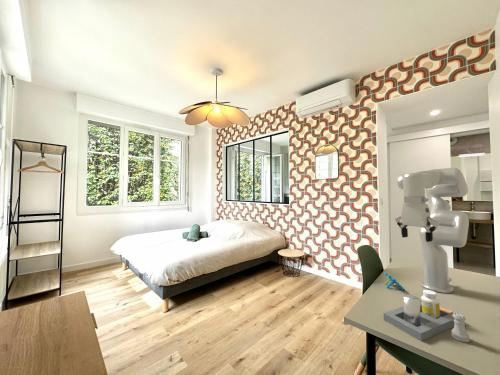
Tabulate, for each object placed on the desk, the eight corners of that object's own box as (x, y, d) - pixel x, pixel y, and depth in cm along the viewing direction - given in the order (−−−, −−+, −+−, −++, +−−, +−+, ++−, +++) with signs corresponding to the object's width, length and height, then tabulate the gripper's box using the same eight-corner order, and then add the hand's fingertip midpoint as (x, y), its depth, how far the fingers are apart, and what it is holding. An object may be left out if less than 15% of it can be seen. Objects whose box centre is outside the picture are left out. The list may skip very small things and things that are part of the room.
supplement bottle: (435, 314, 84) (434, 289, 84) (443, 322, 79) (441, 296, 79) (419, 312, 86) (418, 288, 86) (426, 320, 81) (424, 294, 81)
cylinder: (409, 319, 81) (408, 293, 82) (424, 327, 77) (422, 299, 77) (401, 322, 80) (399, 296, 80) (415, 330, 75) (414, 302, 75)
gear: (408, 290, 101) (390, 274, 104) (399, 298, 102) (381, 282, 105) (399, 284, 112) (383, 269, 115) (391, 291, 112) (375, 276, 115)
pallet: (422, 305, 91) (422, 299, 91) (461, 322, 79) (461, 315, 79) (383, 319, 82) (383, 312, 82) (421, 341, 70) (420, 332, 70)
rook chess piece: (447, 334, 72) (446, 311, 73) (459, 333, 73) (457, 310, 73) (461, 343, 68) (460, 318, 68) (474, 342, 68) (472, 317, 69)
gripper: (442, 200, 87) (445, 242, 86) (400, 200, 103) (401, 235, 103) (431, 201, 84) (434, 244, 84) (389, 200, 100) (391, 236, 100)
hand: (416, 239), depth 93 cm, fingers open, 9 cm apart
